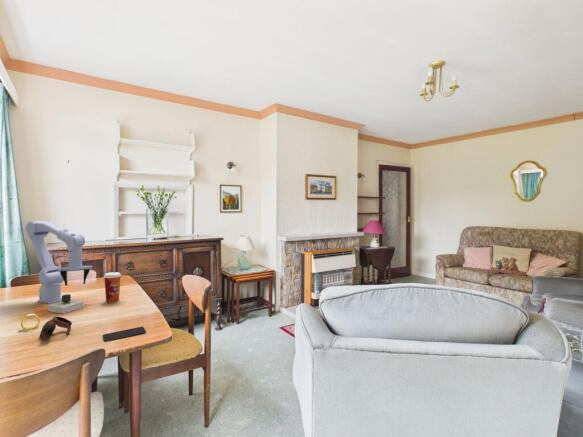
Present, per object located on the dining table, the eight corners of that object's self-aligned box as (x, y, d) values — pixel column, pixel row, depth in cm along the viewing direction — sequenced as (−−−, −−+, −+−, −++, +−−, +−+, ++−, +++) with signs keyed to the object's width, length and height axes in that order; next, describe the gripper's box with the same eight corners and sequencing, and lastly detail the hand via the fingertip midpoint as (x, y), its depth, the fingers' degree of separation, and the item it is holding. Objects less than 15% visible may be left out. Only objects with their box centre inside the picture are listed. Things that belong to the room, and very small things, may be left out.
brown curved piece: (44, 333, 125) (57, 313, 127) (66, 342, 126) (78, 323, 129) (27, 337, 113) (41, 316, 116) (52, 348, 115) (65, 326, 117)
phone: (102, 334, 123) (142, 326, 132) (102, 336, 123) (142, 328, 132) (103, 341, 117) (146, 332, 126) (104, 343, 117) (146, 334, 126)
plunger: (59, 309, 150) (59, 295, 150) (67, 307, 154) (67, 293, 154) (65, 310, 149) (65, 296, 149) (72, 308, 153) (72, 294, 153)
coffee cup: (113, 303, 161) (113, 275, 161) (100, 302, 163) (99, 274, 162) (124, 299, 169) (124, 272, 169) (112, 297, 171) (112, 271, 170)
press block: (48, 311, 148) (48, 305, 148) (68, 304, 158) (68, 299, 158) (63, 313, 145) (63, 307, 145) (83, 307, 155) (83, 301, 155)
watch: (39, 326, 131) (40, 312, 131) (39, 328, 129) (40, 314, 129) (20, 328, 127) (22, 314, 127) (20, 330, 125) (21, 316, 125)
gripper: (57, 261, 152) (57, 288, 152) (91, 259, 160) (91, 284, 160) (58, 258, 158) (58, 284, 158) (92, 256, 165) (92, 281, 166)
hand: (75, 284), depth 160 cm, fingers open, 7 cm apart
